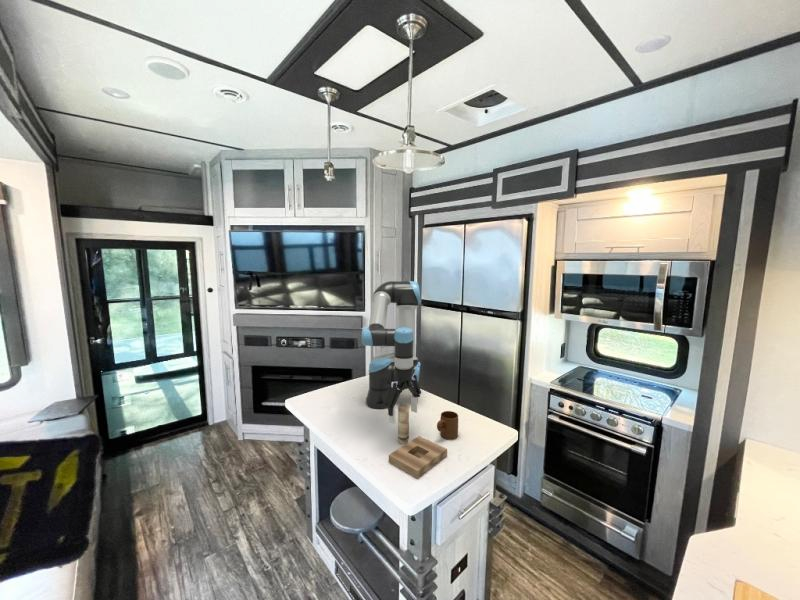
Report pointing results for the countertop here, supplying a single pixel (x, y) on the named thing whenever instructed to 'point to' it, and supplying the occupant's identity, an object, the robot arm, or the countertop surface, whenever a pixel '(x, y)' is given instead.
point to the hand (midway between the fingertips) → (403, 417)
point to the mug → (448, 425)
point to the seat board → (417, 456)
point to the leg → (403, 423)
